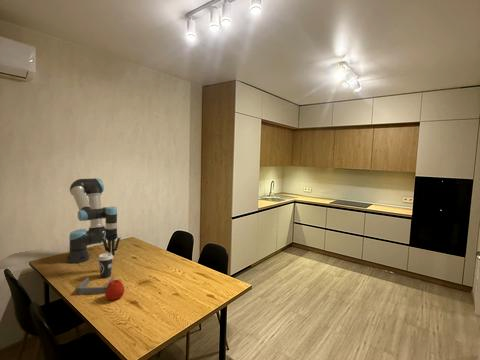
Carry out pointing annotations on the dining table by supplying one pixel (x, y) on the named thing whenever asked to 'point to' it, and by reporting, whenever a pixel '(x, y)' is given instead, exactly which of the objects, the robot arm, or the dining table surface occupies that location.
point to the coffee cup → (105, 264)
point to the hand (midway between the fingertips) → (111, 260)
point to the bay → (91, 288)
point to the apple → (114, 290)
